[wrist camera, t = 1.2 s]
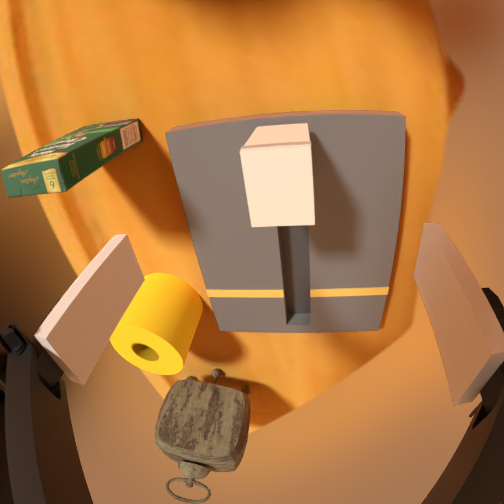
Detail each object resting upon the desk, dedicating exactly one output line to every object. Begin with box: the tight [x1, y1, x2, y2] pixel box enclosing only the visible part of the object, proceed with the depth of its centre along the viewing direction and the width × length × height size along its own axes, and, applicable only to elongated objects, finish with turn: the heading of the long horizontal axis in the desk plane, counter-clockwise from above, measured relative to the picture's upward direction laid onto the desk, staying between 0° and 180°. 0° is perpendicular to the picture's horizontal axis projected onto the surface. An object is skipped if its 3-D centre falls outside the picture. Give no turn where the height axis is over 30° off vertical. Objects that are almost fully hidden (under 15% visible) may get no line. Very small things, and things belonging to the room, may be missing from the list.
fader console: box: [165, 110, 406, 333], centre depth 31 cm, size 26×21×3 cm
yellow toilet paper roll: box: [110, 273, 203, 375], centre depth 37 cm, size 10×10×9 cm
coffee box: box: [1, 119, 142, 198], centre depth 22 cm, size 8×3×13 cm, turn 90°
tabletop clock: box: [155, 369, 250, 504], centre depth 41 cm, size 14×9×25 cm, turn 87°
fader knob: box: [240, 123, 315, 227], centre depth 21 cm, size 5×4×10 cm
